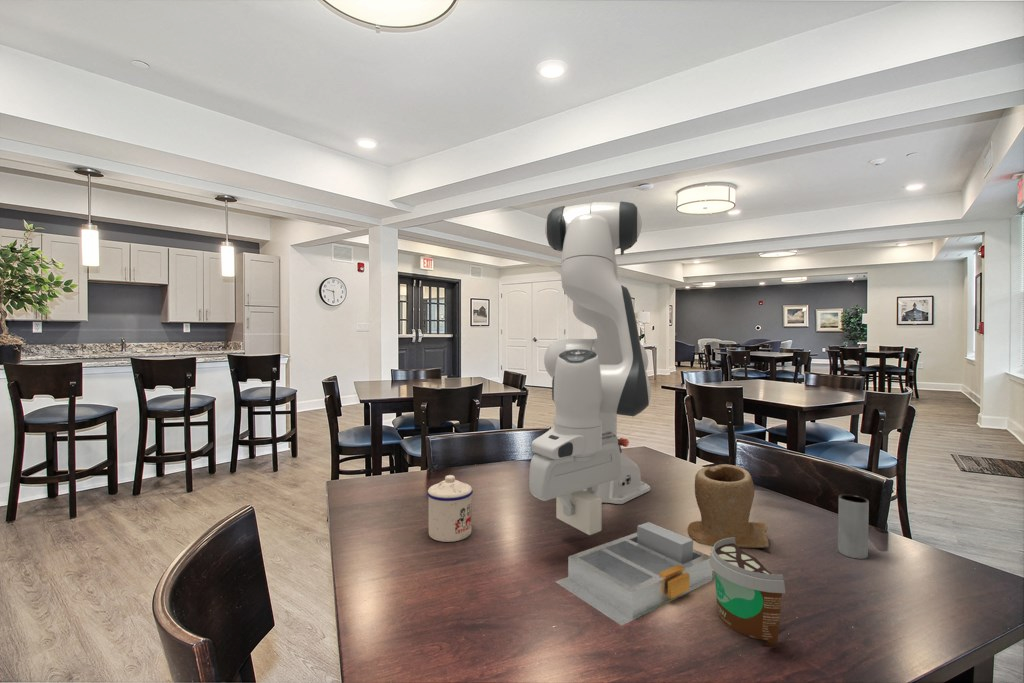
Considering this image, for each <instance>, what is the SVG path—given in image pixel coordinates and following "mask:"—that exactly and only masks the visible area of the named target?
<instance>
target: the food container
mask: <svg viewBox="0 0 1024 683" xmlns="http://www.w3.org/2000/svg"><path fill="white" fill-rule="evenodd" d="M709 556H710V559H709V564H710V566H711V568H712V570H713V571H715V579H714V584H715V595H716V596H715V597H716V612H717V613H716V614H717V615H718V618H719V619H720V621H721V622H722V623H723V624H724V625H726V626H727V627H728V628H730V629H732V630H734V631H735V632H737V633H739V634H742V635H743V636H747V637H750V638H753V639H757V640H763V641H766V642H765V643H763V644H762V645H761V646H762V647H763V648H769V647H770V649H771V648H778V642H779V633H780V632H779V630H780V620H781V606H782V597H783V596H782V595H783V594H786V585H785V580H784V575H783V574H773V573H771V572H770V571H769V570H768V569H767V568H766V567H765V566H764V565H763V564H762V563H761V562H760V561H759V559H757V558H756V557H755V556H753V555H751V554H749V553H747V552H746V551H745V550H743V549H742V548H739V547H738V546H737V545H736V543H735V538H726V539H722V540H720V541H718V542H716V543H715V545H714V546H712V549H711V552H710V555H709Z"/></svg>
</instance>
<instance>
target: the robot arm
mask: <svg viewBox="0 0 1024 683" xmlns="http://www.w3.org/2000/svg"><path fill="white" fill-rule="evenodd" d="M642 221H643V220H642V217H641V214H640V212H639V209H638V206H636V204H635V203H633V202H629V201H619V202H615V201H613V202H611V201H594V202H591V203H580V204H575V205H569V206H566V205H563V206H558V207H555V208H552V209H551V210H550V211H549V213H548V215H547V218H546V221H545V225H544V232H545V238H546V240H547V243H548V245H549V247H550V248H552V250H555V251H557V252H561V261H560V262H561V263H560V264H561V265H560V279H561V280H560V281H561V287H562V289H563V292H564V293H565V295H566V296H567V297H568V298H569V299H570V300H571V301H572V312H573V314H574V316H575V318H576V319H577V320H578V321H579V322H581V323H583V324H585V325H586V326H589V327H591V328H593V329H594V330H595V333H596V338H568V339H562V340H557V341H553V342H551V343H550V344H549V345H548V347H547V348H546V351H545V353H544V358H543V360H544V361H543V362H544V363H543V364H544V368H545V370H546V372H547V374H548V375H549V376H550V377H551V378H552V380H551V395H552V396H551V397H552V398H551V399H552V401H553V403H554V404H555V415H554V418H553V427H551V428H550V429H549V430H548V431H545V433H543V434H542V435H540V436H538V437H536V438H535V439H534V440H532V442H531V445H530V446H531V451H532V452H533V453H535V454H533V456H532V457H531V460H530V464H529V475H528V476H529V478H528V479H529V480H528V481H529V483H528V484H529V485H528V486H529V492H530V493H531V495H532V496H533V497H535V498H536V499H538V500H541V501H543V502H547V501H550V500H552V499H556V498H557V497H559V499H560V501H561V503H562V504H563V513H564V515H566V516H571V515H574V514H575V505H572V504H571V503H570V501H569V499H570V498H571V493H573V492H577V491H580V490H583V491H586V492H588V493H590V494H593V495H595V496H597V497H600V498H602V504H603V503H605V504H606V503H609V504H616V505H622V504H625V503H627V502H629V501H631V500H633V499H635V498H638V497H640V496H642V495H643V494H646V493H647V492H648V493H649V492H650V491H651V486H650V485H649V484H648V483H646V482H644V481H642V478H641V476H642V475H641V470H640V467H639V465H638V464H637V463H636V462H634V461H633V460H632V459H630V457H628V456H627V455H626V454H625V453H624V452H623V449H622V447H624V448H628V446H629V444H630V441H629V439H628V438H623V437H621V438H618V436H617V435H618V434H617V433H618V432H617V431H618V427H617V424H618V422H617V421H618V415H620V416H627V417H636V416H637V415H639V414H640V413H642V412H643V411H644V410H645V409H647V408H648V407H649V406H650V402H651V396H652V395H651V394H652V388H651V382H650V379H649V375H648V373H647V370H648V366H649V357H648V356H649V355H648V353H647V350H646V349H645V347H644V346H643V345H642V343H641V340H640V335H639V328H638V324H637V323H638V322H637V318H636V314H635V310H634V304H633V299H632V296H631V293H630V291H629V289H628V288H627V287H626V286H624V285H621V283H620V281H619V280H618V267H617V266H618V265H617V263H618V262H617V258H616V250H619V249H620V256H623V255H624V254H625V251H628V250H629V249H631V248H632V247H633V246H634V245H635V244H636V243H637V242H638V239H639V237H640V234H641V232H642V225H643V224H642Z"/></svg>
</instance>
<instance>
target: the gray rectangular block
mask: <svg viewBox="0 0 1024 683" xmlns="http://www.w3.org/2000/svg"><path fill="white" fill-rule="evenodd" d="M636 529H637V530H636V533H637V543H638V544H640V545H642V546H644V547H646V548H649V549H651V550H653V551H655V552H657V553H660V554H662V555H664V556H666V557H668V558H670V559H673V560H675V561H677V562H679V563H681V564H685V563H687V562H689V561H692V560H693V549H694V539H692V538H690V537H687V536H684V535H682V534H679V533H676V532H675V531H672V530H669V529H667V528H664V527H662V526H659V525H658V524H654V523H653V522H650V521H647V522H644V523H642V524H638V525H637V526H636Z"/></svg>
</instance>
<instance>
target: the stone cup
mask: <svg viewBox="0 0 1024 683" xmlns="http://www.w3.org/2000/svg"><path fill="white" fill-rule="evenodd" d="M694 496H695V500H696V505H697V507H698V509H699V510H698V511H699V512H700V517H701V518H700V519H701V520H700V521H698V520H697V521H692V522H690V523H688V526H687V534H688V535H689V538H690V539H692V540H693V541H696V543H698V544H701V545H703V546H704V545H705V546H710V547H714V545H715V543H716V542H718V541H720V540H722V539H726V538H735V543H736V545H737V546H738V547H739V548H740V549H742V548H743V549H744V548H747V549H749V548H750V549H767V548H769V546H770V545H769V539H768V534H767V531H768V526H767V524H766V523H765V522H755V521H753V522H751V521H750V515H751V514H750V513H751V509H752V505H753V502H754V498H755V486H754V482H753V477H752V475H751V473H750V472H749V471H748V470H746V469H745V468H743V467H741V466H738V465H733V464H727V463H725V464H716V465H713V466H710V465H708V466H704V467H701V469H699V470H698V471H697V473H696V474H695V476H694Z"/></svg>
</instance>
